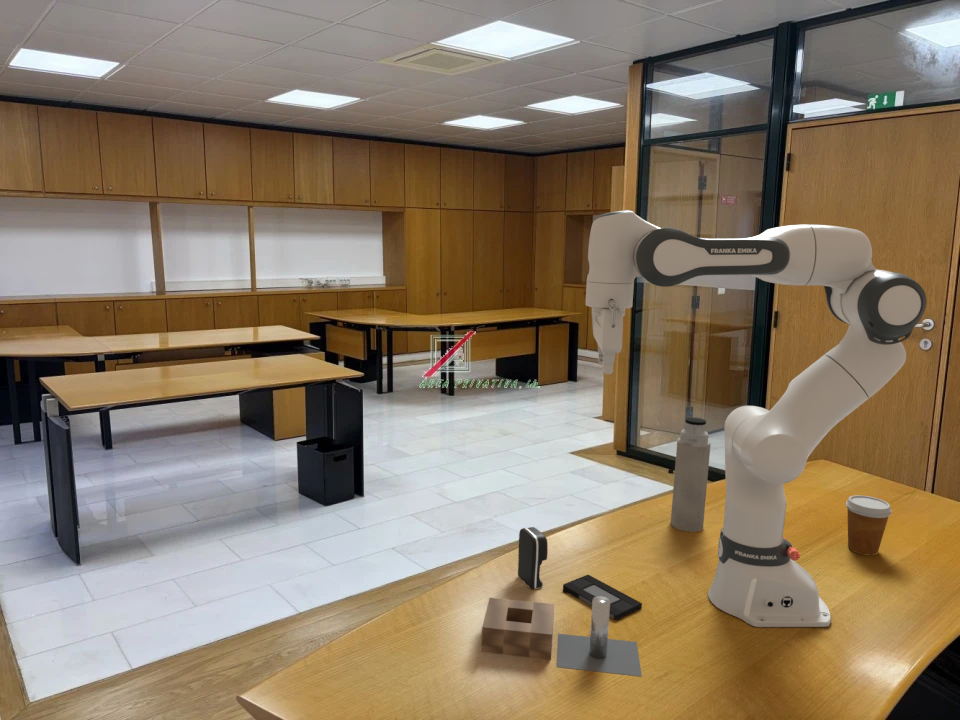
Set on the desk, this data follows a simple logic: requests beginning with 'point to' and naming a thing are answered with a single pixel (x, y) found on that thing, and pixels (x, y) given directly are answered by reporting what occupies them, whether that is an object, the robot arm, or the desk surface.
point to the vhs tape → (593, 587)
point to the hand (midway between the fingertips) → (605, 368)
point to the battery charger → (531, 556)
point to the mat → (617, 661)
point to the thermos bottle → (691, 476)
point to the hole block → (518, 628)
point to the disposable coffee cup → (866, 523)
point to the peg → (599, 627)
